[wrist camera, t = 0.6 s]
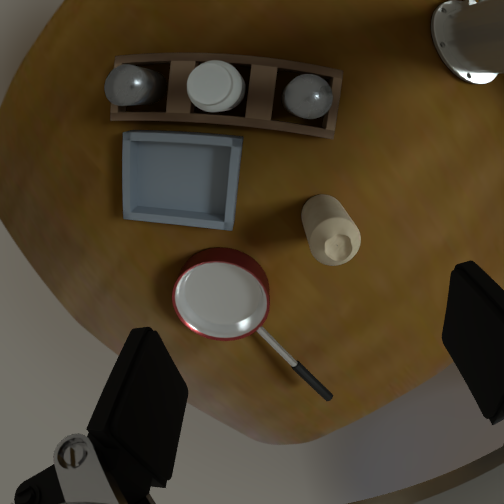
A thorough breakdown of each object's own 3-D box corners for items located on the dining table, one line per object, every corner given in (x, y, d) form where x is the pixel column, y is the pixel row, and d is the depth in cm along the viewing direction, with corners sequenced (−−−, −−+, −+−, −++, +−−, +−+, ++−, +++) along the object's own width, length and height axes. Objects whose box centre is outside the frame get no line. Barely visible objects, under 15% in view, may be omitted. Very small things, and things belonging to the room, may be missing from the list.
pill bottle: (234, 61, 31) (224, 45, 22) (253, 99, 33) (250, 97, 24) (193, 80, 32) (169, 72, 24) (211, 118, 34) (194, 123, 26)
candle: (292, 218, 40) (300, 253, 31) (319, 185, 38) (336, 211, 29) (324, 241, 41) (339, 281, 32) (351, 210, 39) (375, 243, 30)
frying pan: (364, 346, 49) (373, 373, 44) (309, 384, 54) (312, 411, 48) (216, 226, 41) (208, 248, 35) (163, 287, 45) (150, 313, 40)
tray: (132, 130, 35) (123, 132, 32) (243, 136, 35) (241, 138, 33) (132, 211, 40) (123, 218, 37) (234, 221, 40) (232, 230, 37)
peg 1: (135, 71, 32) (106, 65, 24) (169, 70, 32) (145, 63, 24) (132, 104, 34) (103, 106, 26) (165, 104, 34) (141, 105, 26)
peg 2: (283, 78, 32) (288, 70, 25) (320, 84, 32) (335, 78, 25) (278, 113, 34) (282, 114, 27) (315, 119, 34) (329, 122, 27)
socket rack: (123, 58, 31) (115, 56, 28) (338, 72, 31) (343, 70, 29) (118, 119, 34) (110, 120, 32) (328, 137, 35) (333, 139, 33)
